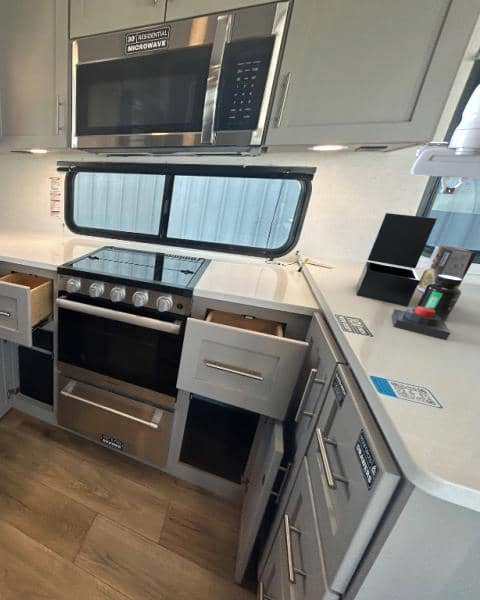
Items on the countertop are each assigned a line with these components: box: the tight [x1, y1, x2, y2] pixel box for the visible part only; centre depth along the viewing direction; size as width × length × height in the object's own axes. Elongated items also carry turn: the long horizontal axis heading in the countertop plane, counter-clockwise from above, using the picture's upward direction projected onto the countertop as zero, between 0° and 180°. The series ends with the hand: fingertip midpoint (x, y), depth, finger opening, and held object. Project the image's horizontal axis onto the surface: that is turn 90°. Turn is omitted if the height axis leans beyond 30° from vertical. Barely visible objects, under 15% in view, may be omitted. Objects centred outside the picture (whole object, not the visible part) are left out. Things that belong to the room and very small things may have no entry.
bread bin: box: [355, 261, 420, 308], centre depth 109 cm, size 16×13×9 cm
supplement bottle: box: [415, 275, 463, 321], centre depth 94 cm, size 7×7×12 cm
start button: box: [414, 305, 436, 317], centre depth 86 cm, size 4×4×2 cm
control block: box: [391, 308, 451, 341], centre depth 87 cm, size 10×10×4 cm
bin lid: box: [366, 212, 438, 269], centre depth 111 cm, size 16×13×1 cm
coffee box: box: [416, 245, 478, 293], centre depth 112 cm, size 9×6×16 cm
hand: (447, 193), depth 97 cm, fingers closed
